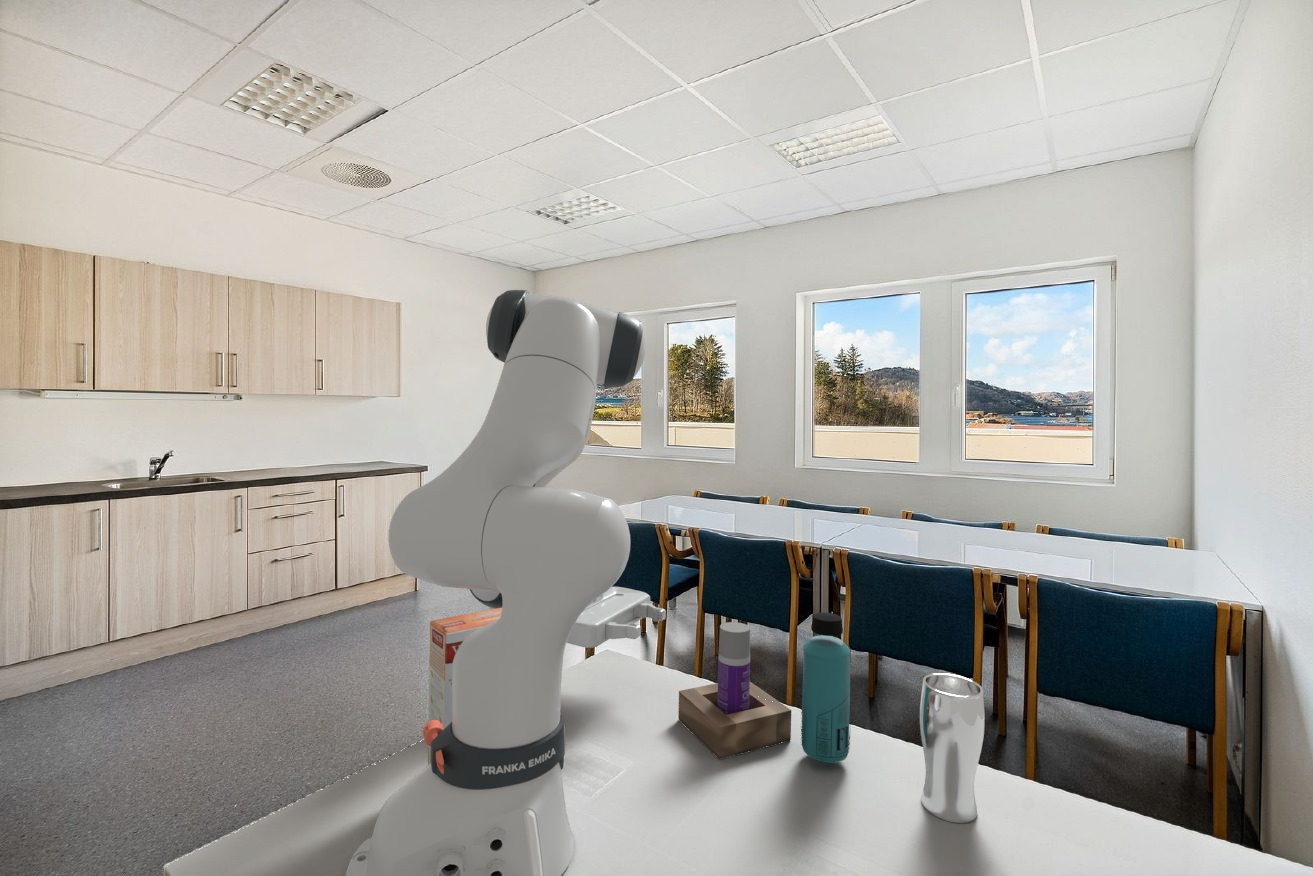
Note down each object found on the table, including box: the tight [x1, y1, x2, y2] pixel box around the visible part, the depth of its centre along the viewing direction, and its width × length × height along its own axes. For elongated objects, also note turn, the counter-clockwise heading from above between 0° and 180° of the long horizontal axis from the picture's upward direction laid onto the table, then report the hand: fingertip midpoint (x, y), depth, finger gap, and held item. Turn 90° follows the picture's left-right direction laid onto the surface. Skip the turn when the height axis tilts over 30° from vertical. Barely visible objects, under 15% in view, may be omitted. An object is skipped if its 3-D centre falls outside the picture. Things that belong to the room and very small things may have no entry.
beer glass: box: [919, 672, 985, 824], centre depth 74 cm, size 7×7×15 cm
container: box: [717, 621, 751, 715], centre depth 91 cm, size 5×5×15 cm
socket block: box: [677, 681, 792, 761], centre depth 91 cm, size 12×12×4 cm
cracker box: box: [427, 608, 502, 766], centre depth 78 cm, size 14×6×21 cm, turn 129°
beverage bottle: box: [800, 612, 852, 763], centre depth 83 cm, size 6×7×20 cm
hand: (652, 623), depth 96 cm, fingers open, 8 cm apart
